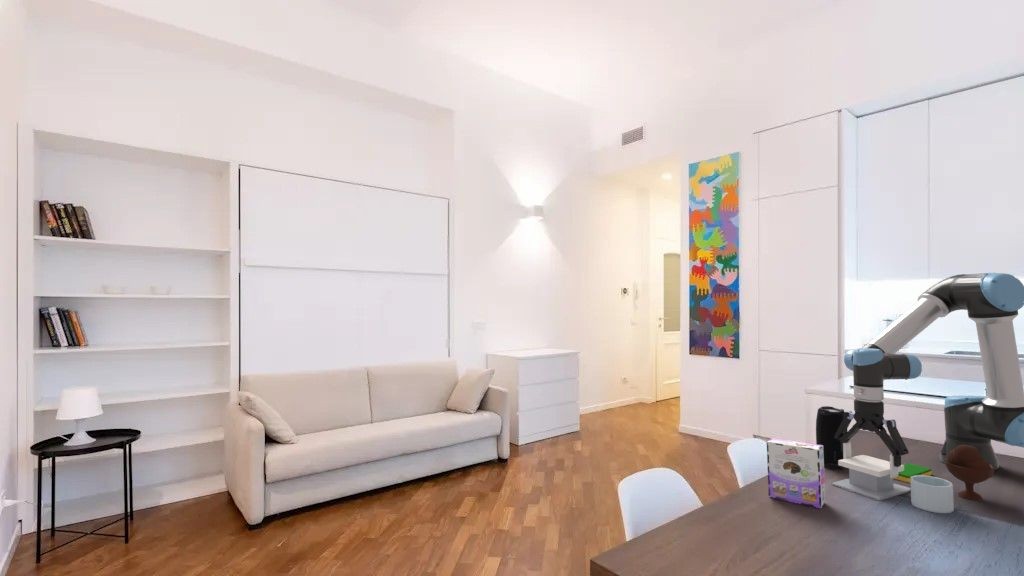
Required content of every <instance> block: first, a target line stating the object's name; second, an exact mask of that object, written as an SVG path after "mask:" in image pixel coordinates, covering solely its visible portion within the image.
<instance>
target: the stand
mask: <svg viewBox="0 0 1024 576" xmlns="http://www.w3.org/2000/svg"><path fill="white" fill-rule="evenodd" d="M848 475H849V476H848V477H849V478H845V479H841V480H837V481H833V482H831V486H834V485H835V486H834V487H837V486H838V488H840V487H841V488H840V489H843V488H844V489H843V490H845V491H846V490H847V491H850V492H852V491H853V493H855V492H856V494H858V495H862V496H864V497H868V498H871V499H874V500H877V501H879V502H880V501H883V500H887V499H890V498H893V497H896V496H900V495H903V494H907V493H909V492H910V493H911V487H908V486H904V485H901V484H898V483H894V479H893V478H891V477H890V474H889V475H886V476H882V477H877V476H874V475H870V474H867V473H863V472H860V471H857V470H853V469H850V468H848Z"/></svg>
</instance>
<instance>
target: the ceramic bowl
mask: <svg viewBox="0 0 1024 576" xmlns="http://www.w3.org/2000/svg"><path fill="white" fill-rule="evenodd" d="M910 480H911V483H910V488H911V491H910V502H911V505H912V506H913V507H915V508H917V509H920V510H922V511H926V512H929V513H935V514H951V513H953V512H954V507H955V506H954V485H953V482H951V481H950V480H947V479H945V478H941V477H936V476H932V475H931V476H925V475H915V476H911V477H910Z"/></svg>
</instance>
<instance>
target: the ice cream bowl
mask: <svg viewBox="0 0 1024 576" xmlns="http://www.w3.org/2000/svg"><path fill="white" fill-rule="evenodd" d="M943 464H944V465H945V467H946V469H947V470H948V472H949V473H950V474H951V475H952V476H953V477H954V478H956V479H957V480H959V481H961V482H962V483H963V482H964V484H965V488H964V490H961V491H958V492H957V493H956V495H957V497H960V498H963V499H965V500H970V501H982V500H983V497H982V496H981V494H979V493H977V492H976V491H975V490H974V485H975V484H979V483H982V482H985V481H988V480H989V479H991V478H992V476H993V475H994V473H995V471H996V470H995V468H994V467H993V466H992V465H991V464H989V463H988V462H987V461H986V460H984V459H982V458H981V453H980V451H979V450H978V449H976V448H974V447H973V446H969V445H960V446H958V447H956V448H955V449H953V450H951V451H950V452H949V454H948V456H947V459H944V463H943ZM994 470H995V471H994Z"/></svg>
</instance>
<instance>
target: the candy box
mask: <svg viewBox="0 0 1024 576" xmlns="http://www.w3.org/2000/svg"><path fill="white" fill-rule="evenodd" d="M766 451H767V452H766V457H767V458H766V459H767V464H766V465H767V486H768V493H767V494H768V495H767V496H770V497H773V498H772V499H774V498H777V499H776V500H780V499H781V500H780V501H784V500H786V502H788V501H789V502H790V503H793V502H794V504H797V503H798V504H797V505H802V504H803V506H806V505H807V507H811V506H812V508H815V507H816V508H817V509H822V508H823V507H824V505H825V504H826V482H825V481H826V480H825V465H824V450H823V445H816V444H815V443H809V442H808V443H807V442H802V441H795V440H789V439H783V438H782V439H781V438H775V437H772V438H770V439H769V440H768V441H766ZM770 497H769V498H770Z"/></svg>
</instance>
